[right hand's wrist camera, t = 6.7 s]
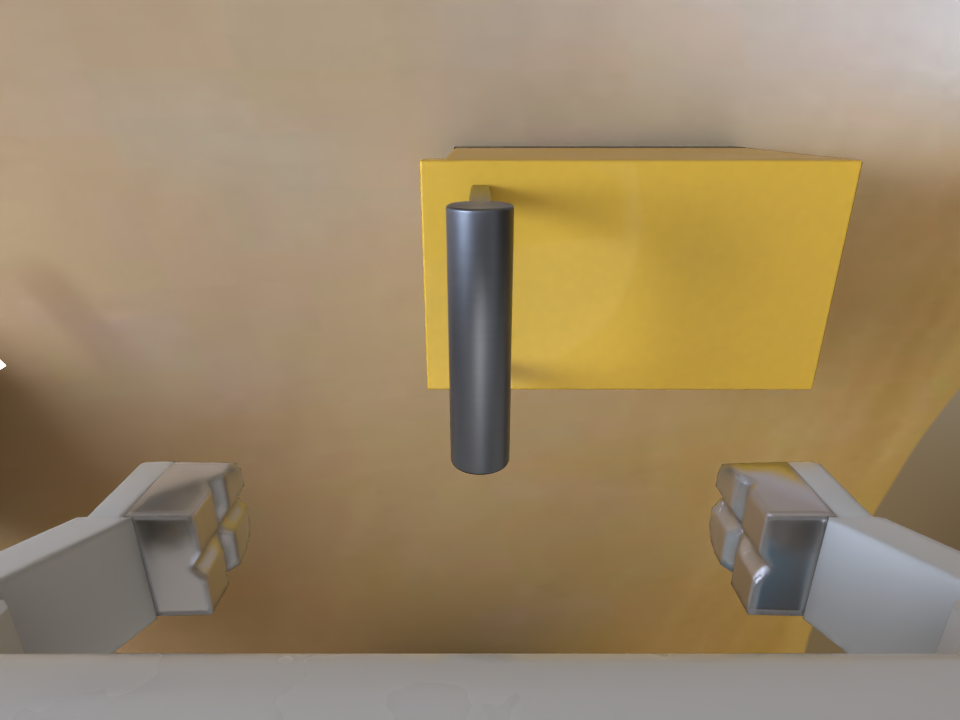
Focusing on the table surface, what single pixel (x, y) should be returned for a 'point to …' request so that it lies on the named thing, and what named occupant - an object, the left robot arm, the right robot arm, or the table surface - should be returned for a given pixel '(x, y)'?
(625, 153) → the chest
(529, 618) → the table surface
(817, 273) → the lid
